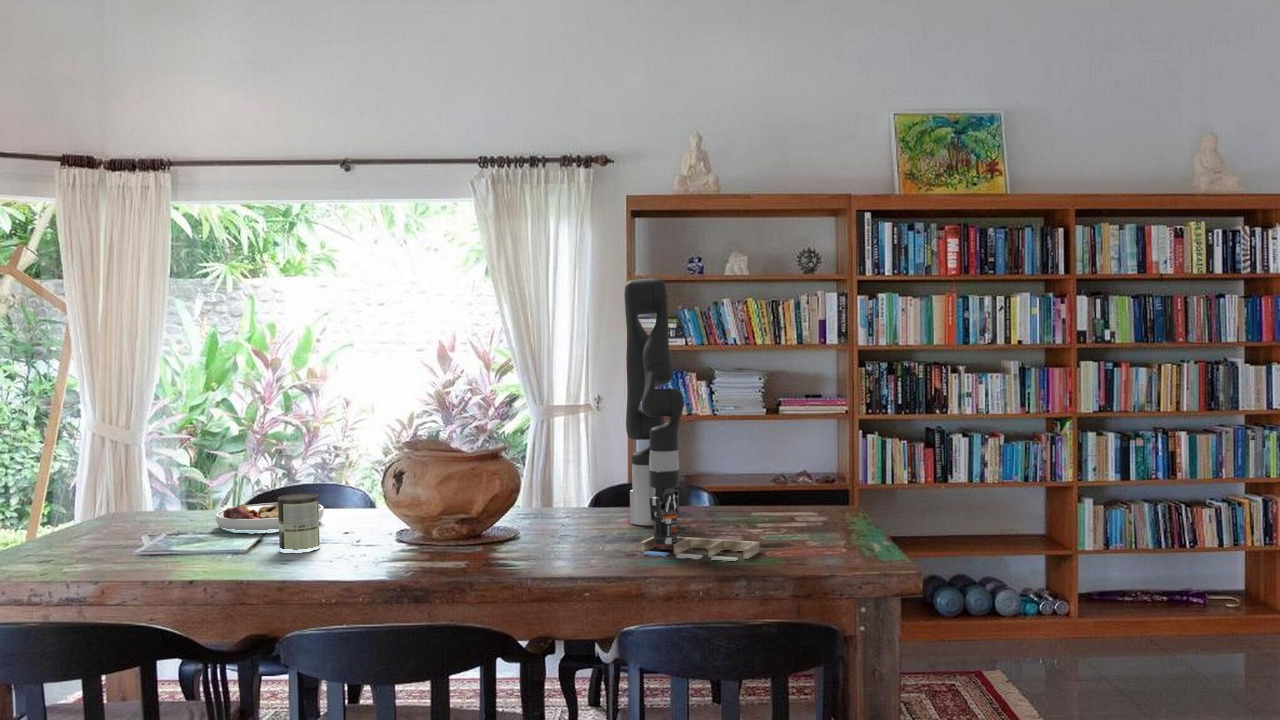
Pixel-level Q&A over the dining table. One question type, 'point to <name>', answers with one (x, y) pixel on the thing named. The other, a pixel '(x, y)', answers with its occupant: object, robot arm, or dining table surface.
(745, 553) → the divider rack
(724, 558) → the bezel tiles
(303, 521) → the coffee can
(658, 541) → the supplement bottle
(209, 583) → the dining table surface
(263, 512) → the bowl
